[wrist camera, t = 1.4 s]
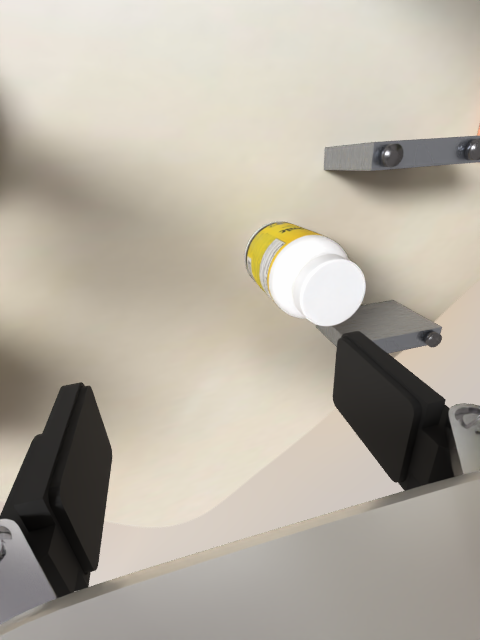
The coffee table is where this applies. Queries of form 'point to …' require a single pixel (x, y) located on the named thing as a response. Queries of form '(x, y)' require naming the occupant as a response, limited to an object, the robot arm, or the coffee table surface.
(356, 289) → the supplement bottle
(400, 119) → the coffee table surface
